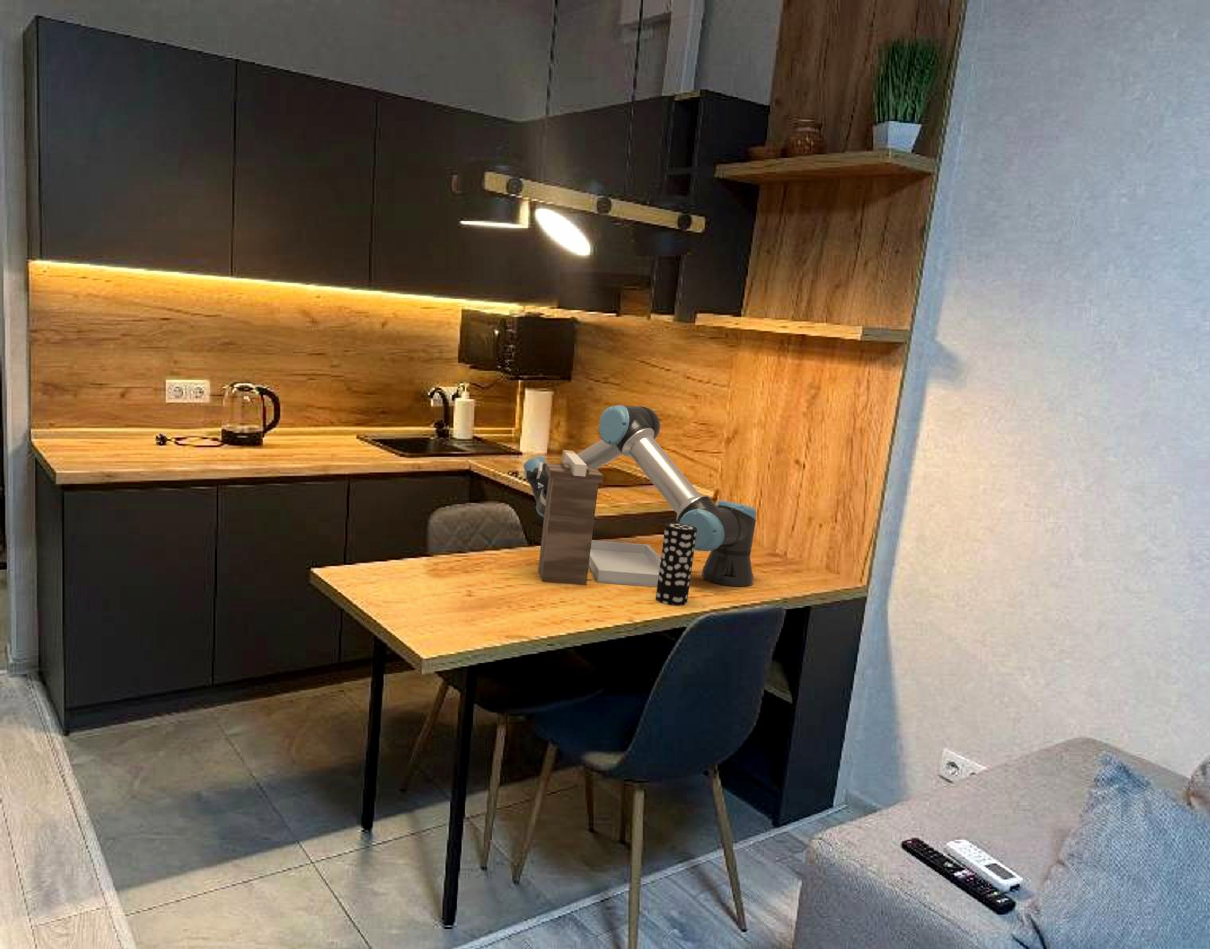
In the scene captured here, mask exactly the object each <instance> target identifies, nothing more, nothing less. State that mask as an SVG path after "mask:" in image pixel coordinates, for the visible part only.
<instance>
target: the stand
mask: <svg viewBox="0 0 1210 949" xmlns="http://www.w3.org/2000/svg"><path fill="white" fill-rule="evenodd" d="M555 464H556V463H546V470H545V471H546V472H547V474H548V476H549V478H548V487H547V496H546V504H545V513H544V517H543V521H542V522H543V525H542V532H541V533H542V534H541V540H540V551H539V559H538V568H537V569H538V570H537V571H538V574H539V578H540V580H541V582H542V583H552V584H553V583H555V584H565V585H566V584H568V585H581V586H587V582H588V574H589V573H588V572H589V559H590V551H591V542H592V540H593V531H594V525H595V517H596V516H595V515H596V507H597V501H598V494H599V493H598V492H599V486H600V484H603V483H604V475H603V473H602V472H600V471H599V469H596V468H586V476H585V477H584V476H574V475H573V474H572V472H571V471H570V467H569V466H568V465H567V464H566V462H565V461H562V460H560V463H559V464H560V465H555Z"/></svg>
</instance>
